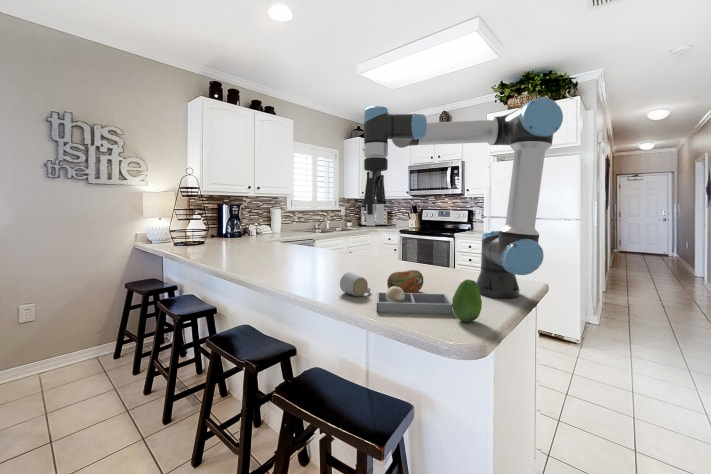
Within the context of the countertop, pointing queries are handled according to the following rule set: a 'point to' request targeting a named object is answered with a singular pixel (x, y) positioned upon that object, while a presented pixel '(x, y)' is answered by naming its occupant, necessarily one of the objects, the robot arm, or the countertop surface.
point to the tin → (406, 281)
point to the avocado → (467, 301)
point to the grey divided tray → (416, 304)
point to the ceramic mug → (354, 284)
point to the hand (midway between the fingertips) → (375, 224)
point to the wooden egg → (395, 295)
